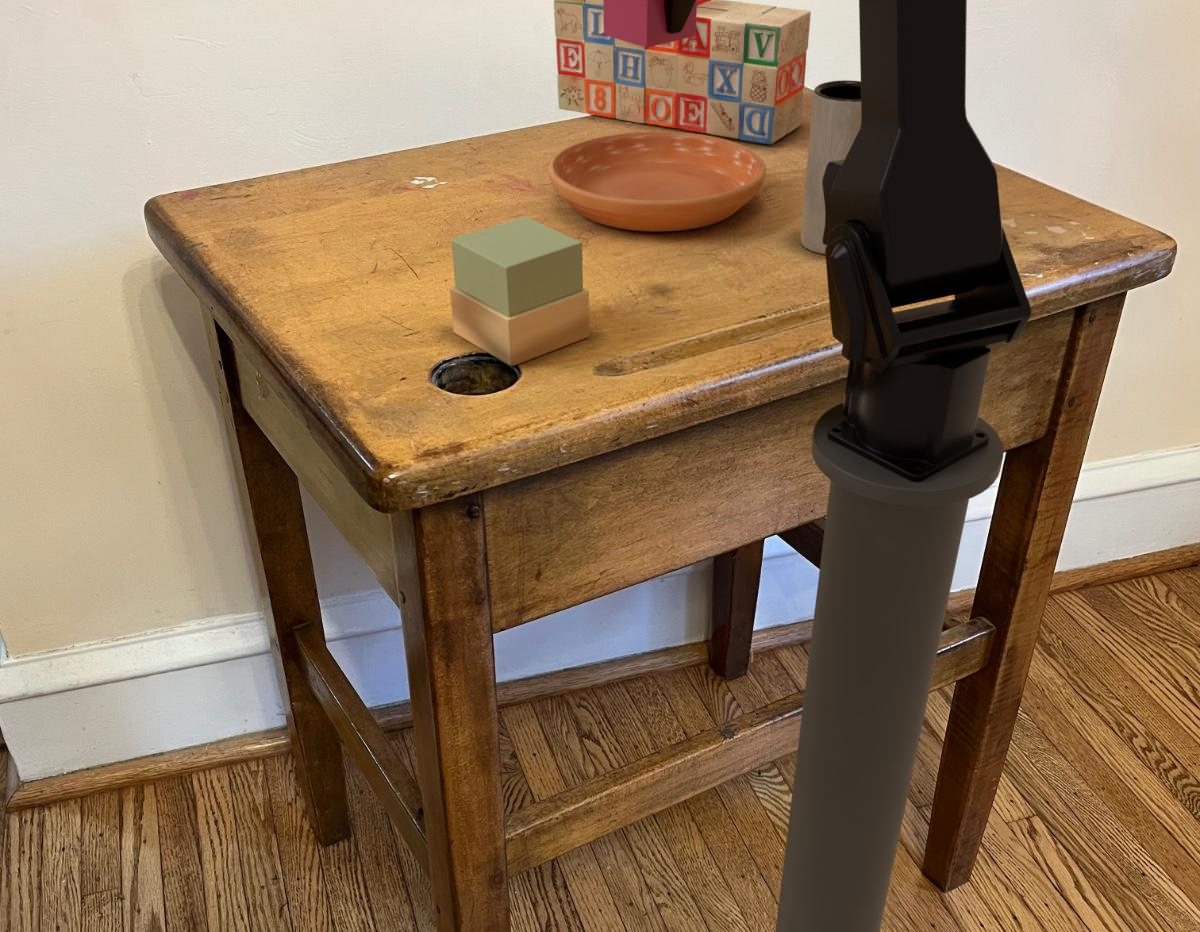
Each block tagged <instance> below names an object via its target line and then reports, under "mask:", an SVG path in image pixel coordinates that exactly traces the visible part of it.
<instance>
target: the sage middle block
mask: <svg viewBox="0 0 1200 932" xmlns="http://www.w3.org/2000/svg"><path fill="white" fill-rule="evenodd" d="M450 241H451V243H450V244H451V254H452V255H451V256H452V264H453V265H452V266H453V276H454V286H456V287H457V288H459V289H460V290H462V291H464V292H466V293H468V294H469V295H471V296H473V297H475V298H477V299H478V300H480V301H482V302H484V303H486V304H487V305H489V306H491V307H493V308H495V309H497V310H498V311H500V312H502V313H504V314H506V315H507V316H513V315H516V314H518V313H521V312H524V311H527V310H529V309H532V308H535V307H538V306H541V305H543V304H546V303H549V302H552V301H554V300H557V299H560V298H563V297H566V296H568V295H571V294H574V293H577V292H579V291H582V290H583V289H584V275H583V273H584V272H583V271H584V268H583V243H582V241H580V240H578V239H575V238H574V237H572V236H569V235H567V234H565V233H562V232H560V231H558V230H556V229H554V228H552V227H550V226H547V225H546V224H543V223H541V222H539V221H537V220H534V219H533V218H530V217H528V216H526V215H524V216H522V217H518V218H515V219H512V220H508V221H505V222H501V223H499V224H495V225H492V226H489V227H486V228H482V229H480V230H476V231H474V232H470V233H467V234H466V233H465V234H464V235H460V236H457V237H454V238H451V240H450Z"/></svg>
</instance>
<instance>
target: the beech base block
mask: <svg viewBox="0 0 1200 932" xmlns="http://www.w3.org/2000/svg"><path fill="white" fill-rule="evenodd" d="M449 295H450V304H451V306H450V307H451V317H452V329H453V333H454V334H456V335H457V336H459V337H460V338H462V339H464V340H466V341H468V343H470V344H472V345H474V346H476V347H478V348H479V349H481V350H483V351H484V352H486V353H488V354H489V355H491V356H493V357H494V358H496V359H498V360H499V361H501V362H502V363H505V364H506V365H508V366H509V367H515V366H516V365H517V366H518V365H519V364H522V363H525V362H528V361H530V360H533V359H535V358H538V357H540V356H543V355H546V354H548V353H550V352H553V351H557V350H559V349H561V348H564V347H566V346H568V345H572V344H574V343H576V342H579V341H581V340H584V339H587V338H589V337H590V335H591V333H590V332H591V331H590V330H591V329H590V291H589V290H587V289H585V288H583V290H582V291H579V292H577V293H574V294H571V295H568V296H566V297H563V298H560V299H557V300H554V301H552V302H549V303H546V304H543V305H541V306H538V307H535V308H532V309H529V310H527V311H524V312H521V313H518V314H516V315H513V316H507V315H506V314H504V313H502V312H500V311H498V310H497V309H495V308H493V307H491V306H489V305H487V304H486V303H484V302H482V301H480V300H478V299H477V298H475V297H473V296H471V295H469V294H468V293H466V292H464V291H462V290H460V289H459V288H457V287H456V286H455V285H453V286H450V287H449Z"/></svg>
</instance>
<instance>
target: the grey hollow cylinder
mask: <svg viewBox="0 0 1200 932" xmlns="http://www.w3.org/2000/svg"><path fill="white" fill-rule="evenodd" d="M812 94H813V95H812V106H811V117H810V129H809V139H808V140H809V141H808V151H807V162H806V173H805V181H804V193H803V205H802V206H803V207H802V216H801V227H800V228H801V229H800V243H801V245H802V246H803V247H804V248H805V249H807V250H809V251H811V252H813V253H818V254H821V255H825V248H826V245H824V244H823V242H822V239H823V234H824V228H825V201H824V193H823V185H822V179H823V176H824V173H825V169H826V166H827V164H828V163H829V162H832V161H838V160H844V159H845V158H846V156H847V154H848V152H849V150H850V148H851V146H852V144H853V142H854V140H855V138H856V136H857V134H858V132H859V130H860V127H861V80H850V79H849V80H848V79H847V80H845V79H844V80H831V81H827V82H823V83H820V84H818V85H816V86H815V88H814V89H813V93H812Z"/></svg>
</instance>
